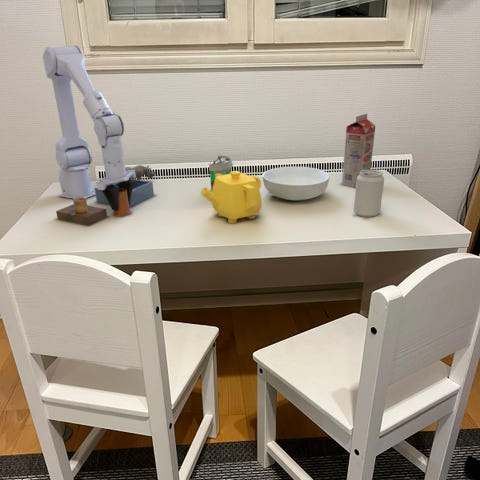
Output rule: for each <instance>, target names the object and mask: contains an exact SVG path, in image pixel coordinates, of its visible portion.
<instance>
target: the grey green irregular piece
mask: <svg viewBox="0 0 480 480" xmlns="http://www.w3.org/2000/svg"><path fill="white" fill-rule="evenodd" d="M232 167H234V164H233V160H232V157H230V156H226V155H219V154H218V155H217V159H215V160H213V162H212V163H208V171H209V177H210V191H211V192H212V189H213V185H214V181H215V178H216V175H215V174H222V175H227V174H230V172H232Z"/></svg>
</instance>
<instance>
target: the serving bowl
mask: <svg viewBox="0 0 480 480" xmlns="http://www.w3.org/2000/svg"><path fill="white" fill-rule="evenodd" d="M330 180H331V177H330V174H329V173H328V172H327V171H325V170H323V169H318V168H315V167H309V166H295V165H294V166H279V167H275V168H271V169H268V170H266V171H264V172H263V173H262V182H263V185H264V188H265V189H266V190H267V192H268V193H270V194H271V195H273V196H274V197H276V198H280V199H282V200H287V201H297V202H298V201H305V200H309V199H313V198H316V197H318V196H320V195H321V194H322V193H324V192H325V191H326V189H327V187H328V185H329V182H330Z"/></svg>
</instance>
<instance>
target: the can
mask: <svg viewBox="0 0 480 480" xmlns="http://www.w3.org/2000/svg"><path fill="white" fill-rule="evenodd" d="M384 185H385V177H384V176H383V172H382V171H380V170H377V169H371V170H362V171H360V175H358V176H357V180H356V187H355V190H354V201H353V212H354V213H355V214H356V215H357V216H359V217H362V218H373V217H376V216H377V215H379V214H380V213H381V208H382V199H383V192H384Z"/></svg>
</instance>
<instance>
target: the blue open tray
mask: <svg viewBox="0 0 480 480" xmlns="http://www.w3.org/2000/svg"><path fill="white" fill-rule="evenodd" d="M131 180H134V181H135V184H134V187H133V189H132V193H131V200H130V205H129V208H130V207H133V206H135V205H138V204H140V203H142V202H144V201H146V200H148V199H150V198H153V197H155V192H154V182H153V181H151V180H142V179H140V180H137V178H135V179H131ZM113 186H115V188H119V187H118V185H117V184H115V185H113ZM94 192H95V193H96V195H95V199H96V203H97V204H103V205H108V206H110V204H109V202H108V200H107V198H106V197H105V195H104V194H103V192H102V191H101V190H98V189H97V187H95V188H94Z"/></svg>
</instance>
